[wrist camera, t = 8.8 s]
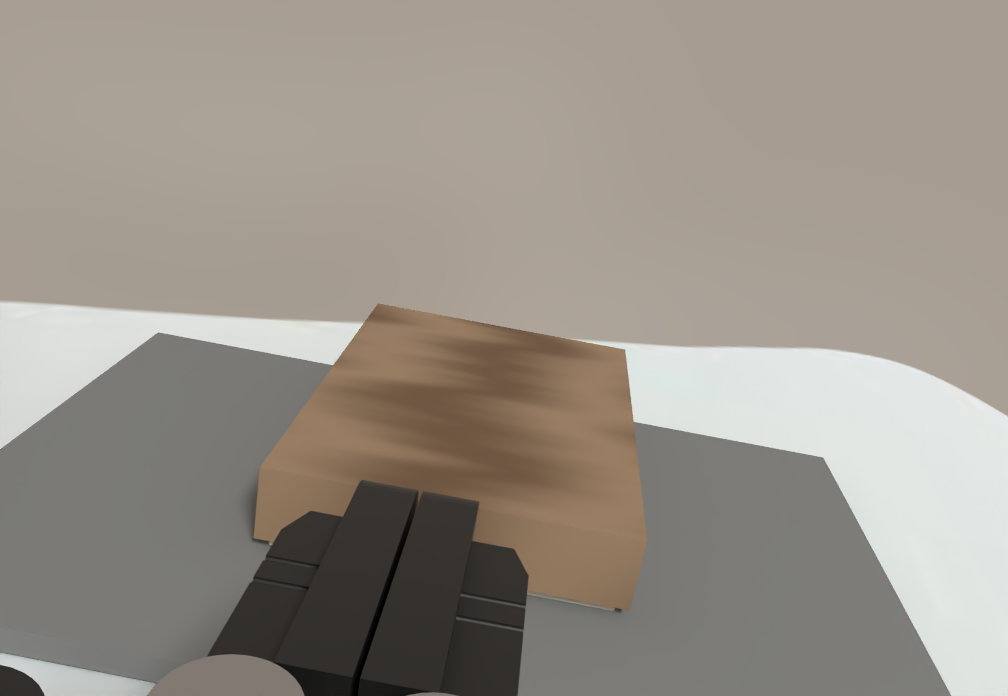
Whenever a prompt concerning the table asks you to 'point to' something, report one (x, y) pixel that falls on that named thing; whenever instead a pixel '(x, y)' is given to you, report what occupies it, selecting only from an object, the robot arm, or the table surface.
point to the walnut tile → (478, 445)
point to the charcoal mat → (548, 623)
